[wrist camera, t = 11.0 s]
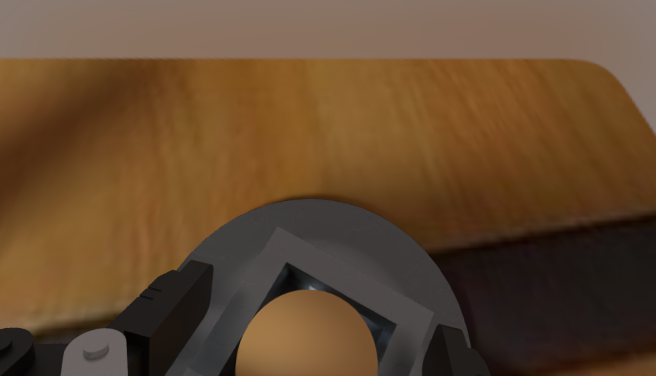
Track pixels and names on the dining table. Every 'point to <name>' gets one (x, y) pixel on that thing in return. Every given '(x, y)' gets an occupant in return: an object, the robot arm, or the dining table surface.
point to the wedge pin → (307, 339)
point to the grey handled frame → (320, 281)
